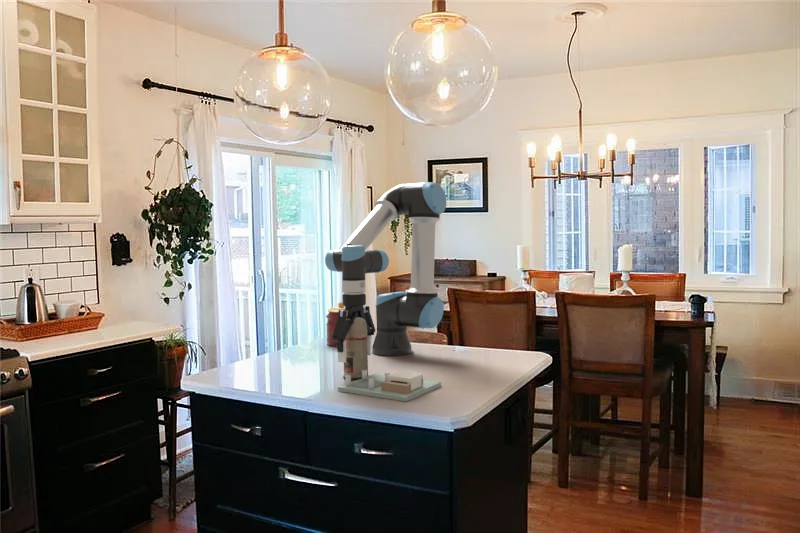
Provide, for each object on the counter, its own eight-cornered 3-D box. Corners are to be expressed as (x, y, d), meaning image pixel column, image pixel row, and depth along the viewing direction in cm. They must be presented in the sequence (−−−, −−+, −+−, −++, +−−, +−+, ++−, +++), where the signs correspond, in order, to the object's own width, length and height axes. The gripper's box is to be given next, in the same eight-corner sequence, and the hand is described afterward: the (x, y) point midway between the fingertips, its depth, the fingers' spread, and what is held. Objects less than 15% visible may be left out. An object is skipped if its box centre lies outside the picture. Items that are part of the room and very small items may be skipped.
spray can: (339, 375, 216) (338, 315, 215) (362, 373, 219) (361, 313, 218) (348, 381, 208) (346, 318, 207) (372, 378, 212) (371, 316, 210)
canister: (323, 342, 277) (322, 300, 276) (352, 340, 281) (352, 299, 280) (330, 347, 265) (329, 304, 264) (361, 345, 269) (360, 302, 268)
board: (338, 390, 196) (337, 377, 196) (376, 377, 213) (375, 364, 213) (406, 401, 183) (406, 386, 183) (441, 386, 200) (440, 372, 200)
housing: (387, 387, 194) (387, 375, 193) (400, 382, 199) (400, 371, 199) (410, 390, 189) (410, 378, 189) (423, 385, 195) (423, 373, 195)
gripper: (339, 297, 199) (340, 366, 201) (385, 290, 220) (386, 352, 222) (320, 296, 204) (321, 364, 205) (366, 289, 224) (367, 350, 226)
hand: (355, 358), depth 213 cm, fingers open, 13 cm apart
